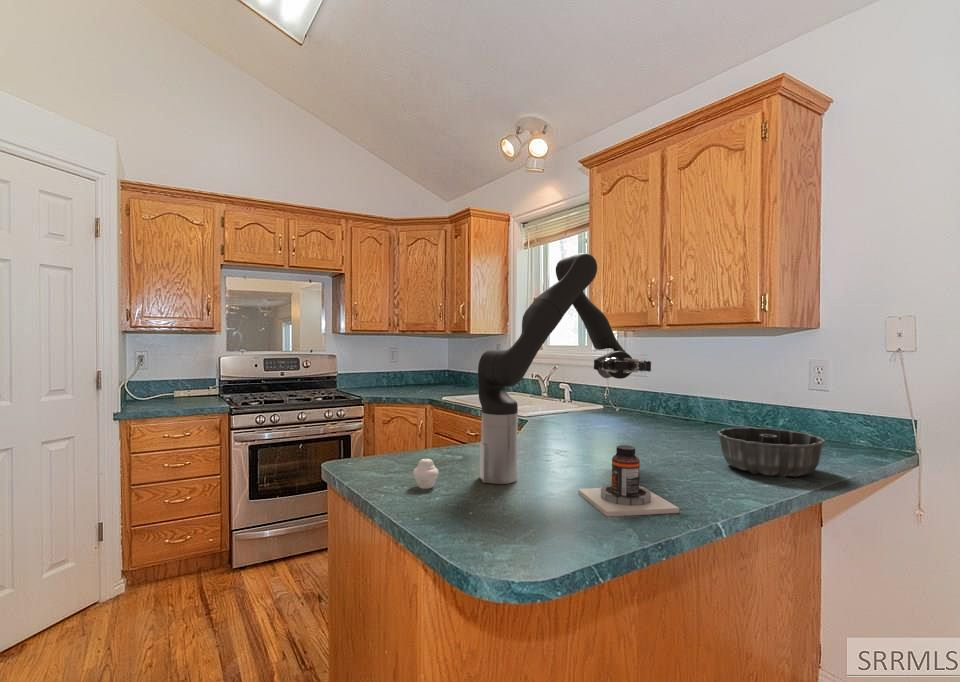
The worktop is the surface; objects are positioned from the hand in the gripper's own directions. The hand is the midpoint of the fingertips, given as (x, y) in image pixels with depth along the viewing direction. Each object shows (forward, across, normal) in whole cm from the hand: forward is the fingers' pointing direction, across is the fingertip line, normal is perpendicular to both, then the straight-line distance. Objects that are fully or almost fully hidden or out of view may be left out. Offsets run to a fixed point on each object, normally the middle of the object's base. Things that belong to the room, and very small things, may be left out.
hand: (624, 365), depth 124 cm
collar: (+12, 0, +30) cm, 33 cm away
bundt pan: (-27, +43, +29) cm, 58 cm away
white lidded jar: (+10, -47, +31) cm, 57 cm away
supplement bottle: (+12, 0, +29) cm, 32 cm away
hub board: (+12, 0, +30) cm, 33 cm away
